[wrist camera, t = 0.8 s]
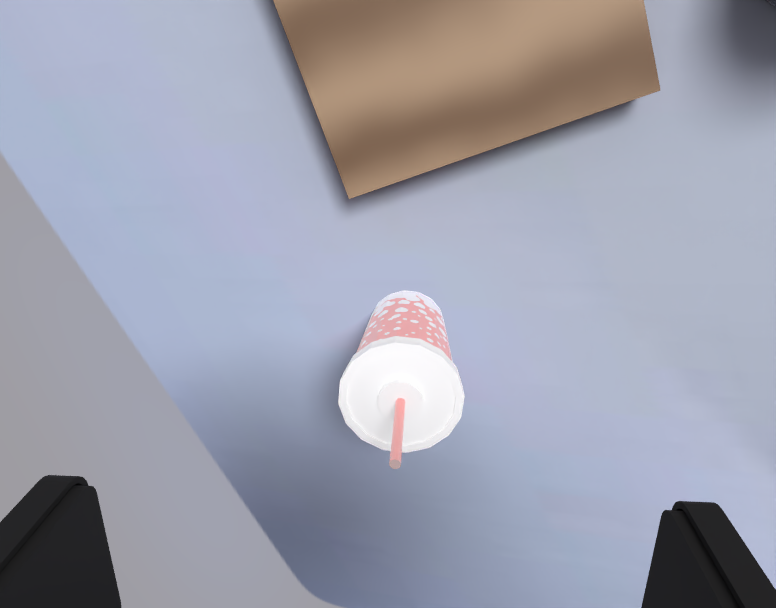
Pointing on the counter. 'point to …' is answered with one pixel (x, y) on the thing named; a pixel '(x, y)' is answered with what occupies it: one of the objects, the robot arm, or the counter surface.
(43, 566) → the robot arm
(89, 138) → the counter surface
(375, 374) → the beverage cup
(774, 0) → the supplement bottle
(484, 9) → the walnut base
